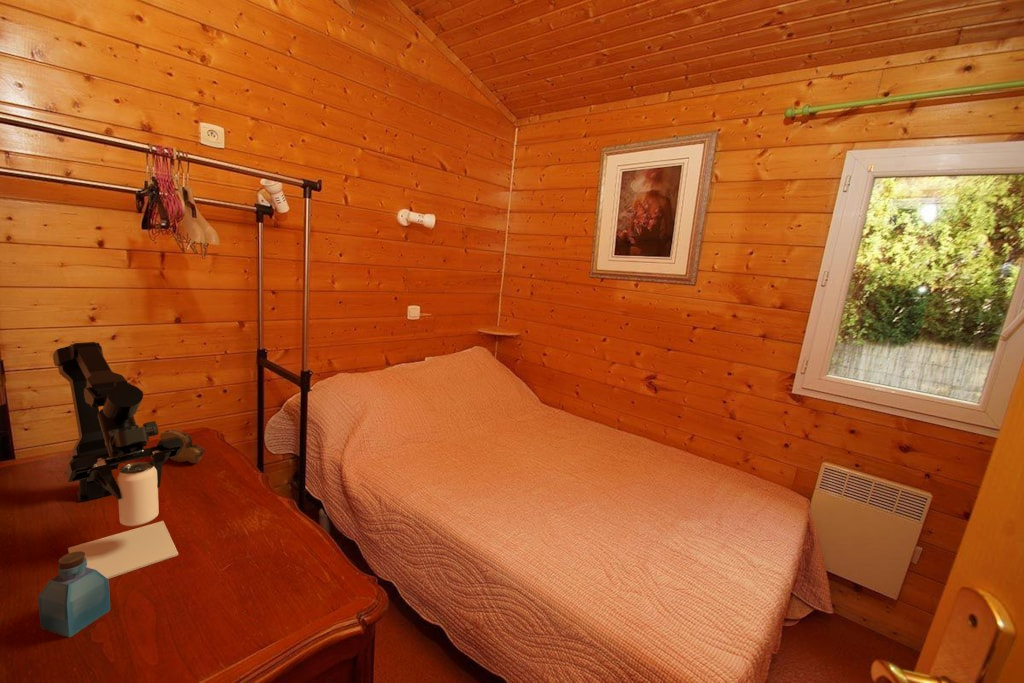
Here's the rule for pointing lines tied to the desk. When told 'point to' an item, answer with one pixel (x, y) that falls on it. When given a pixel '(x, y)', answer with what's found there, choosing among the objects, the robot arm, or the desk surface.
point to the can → (138, 493)
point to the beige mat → (128, 550)
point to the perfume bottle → (73, 597)
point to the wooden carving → (184, 447)
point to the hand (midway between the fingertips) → (139, 492)
